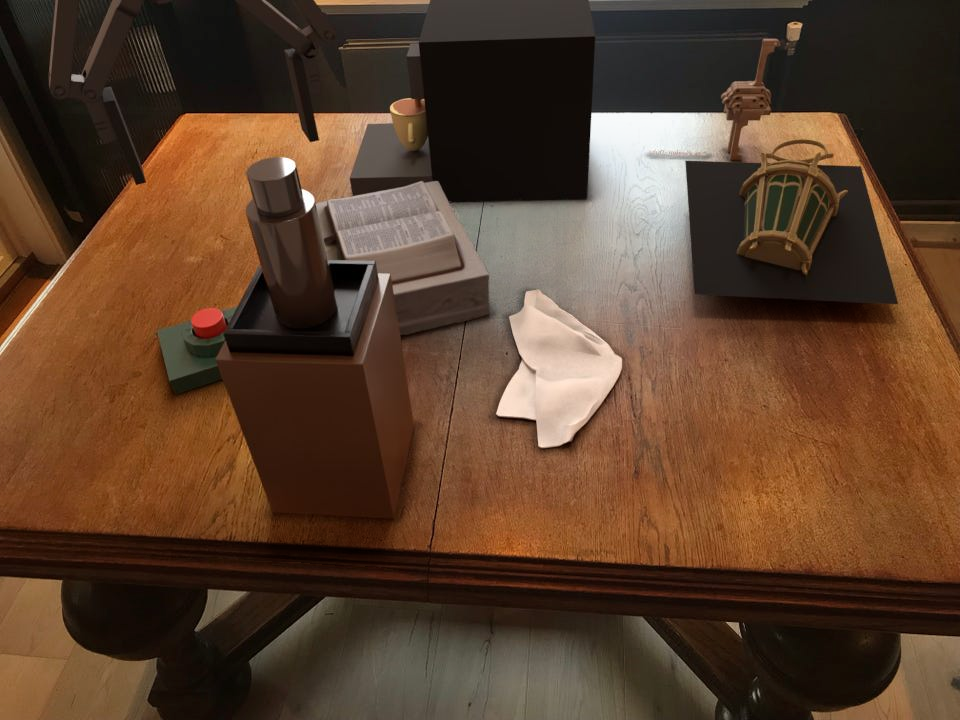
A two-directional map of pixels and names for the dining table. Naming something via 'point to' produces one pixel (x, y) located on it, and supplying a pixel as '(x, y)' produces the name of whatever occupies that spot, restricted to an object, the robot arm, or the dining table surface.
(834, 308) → the dining table surface
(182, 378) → the base
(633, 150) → the dining table surface
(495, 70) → the coffee maker
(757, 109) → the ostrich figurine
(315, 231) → the metal bottle
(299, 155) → the dining table surface
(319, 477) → the brown pedestal
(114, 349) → the dining table surface
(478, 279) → the bible
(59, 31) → the robot arm
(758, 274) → the lantern
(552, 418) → the cloth
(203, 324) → the button
